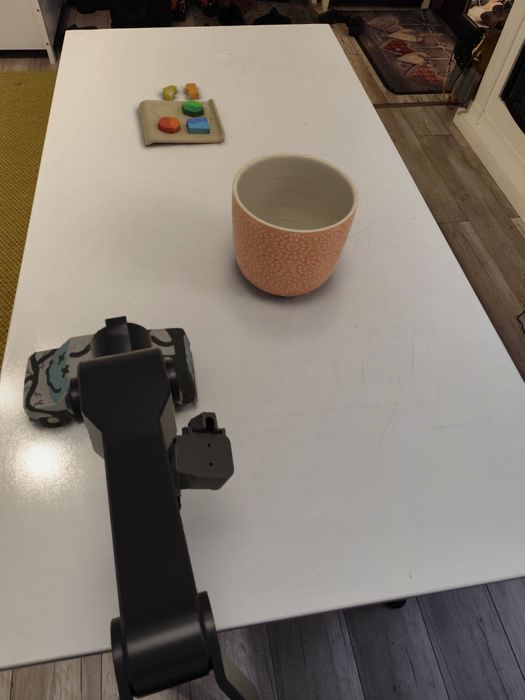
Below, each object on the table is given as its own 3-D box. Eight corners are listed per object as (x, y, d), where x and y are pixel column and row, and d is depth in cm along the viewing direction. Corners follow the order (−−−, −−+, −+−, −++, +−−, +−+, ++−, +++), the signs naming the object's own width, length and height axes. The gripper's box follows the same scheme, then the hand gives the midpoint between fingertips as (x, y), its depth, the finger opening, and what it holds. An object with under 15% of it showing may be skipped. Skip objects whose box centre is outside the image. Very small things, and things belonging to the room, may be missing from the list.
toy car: (36, 372, 83) (17, 333, 75) (191, 356, 87) (189, 318, 79) (31, 431, 77) (10, 397, 69) (199, 411, 81) (197, 376, 73)
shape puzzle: (226, 143, 124) (226, 129, 121) (145, 148, 120) (144, 134, 117) (207, 88, 138) (207, 75, 135) (135, 91, 134) (133, 78, 132)
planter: (214, 246, 103) (215, 161, 88) (309, 226, 108) (326, 144, 93) (251, 324, 92) (259, 243, 77) (354, 298, 98) (381, 218, 82)
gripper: (242, 537, 43) (235, 580, 56) (217, 354, 54) (216, 425, 66) (104, 556, 41) (129, 596, 54) (107, 364, 52) (127, 435, 65)
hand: (155, 504), depth 60 cm, fingers closed
